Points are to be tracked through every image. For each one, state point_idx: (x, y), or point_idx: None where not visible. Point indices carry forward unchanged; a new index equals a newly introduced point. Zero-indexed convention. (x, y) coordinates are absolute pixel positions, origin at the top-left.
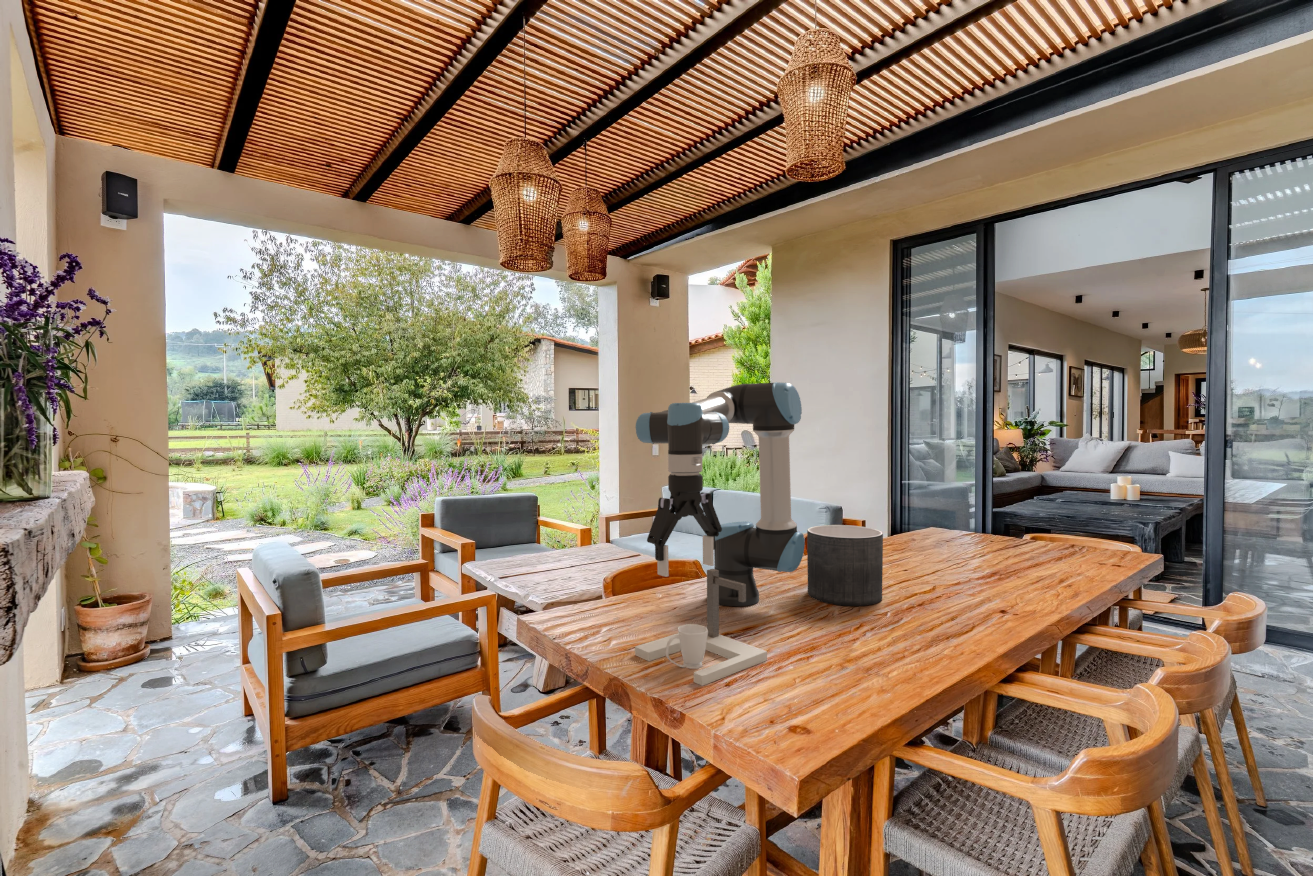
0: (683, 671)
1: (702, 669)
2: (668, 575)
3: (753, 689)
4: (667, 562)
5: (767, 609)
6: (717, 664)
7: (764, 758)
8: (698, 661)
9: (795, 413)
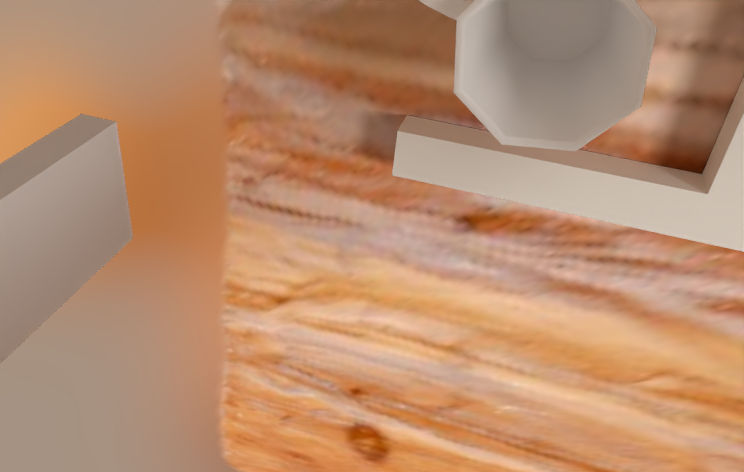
0: None
1: (444, 144)
2: (126, 243)
3: (496, 299)
4: (25, 324)
5: None
6: (532, 166)
7: (223, 417)
8: (532, 63)
9: None
